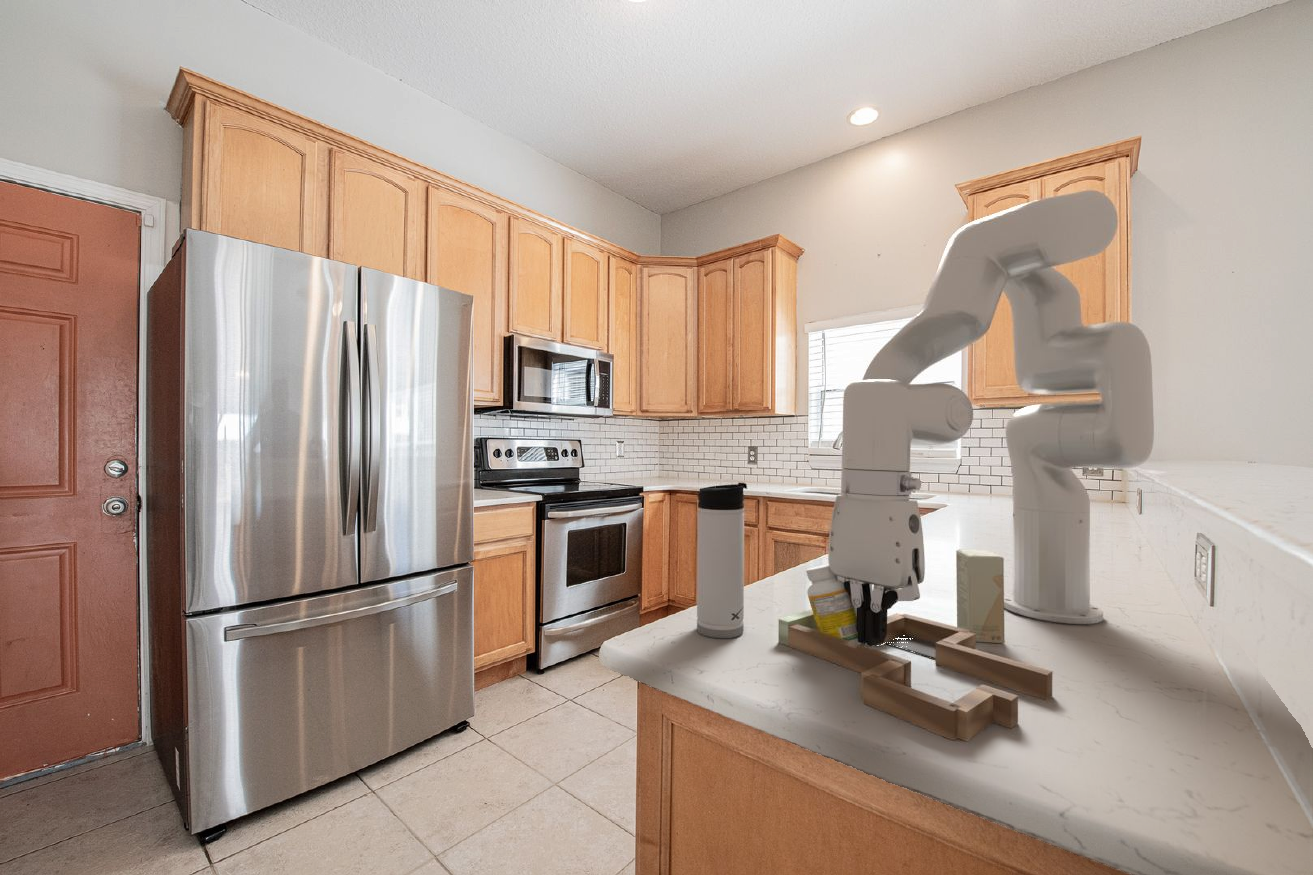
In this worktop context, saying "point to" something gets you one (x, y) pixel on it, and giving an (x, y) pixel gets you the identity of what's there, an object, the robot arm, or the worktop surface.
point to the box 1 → (949, 648)
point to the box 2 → (980, 594)
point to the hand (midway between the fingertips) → (871, 641)
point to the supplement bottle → (831, 604)
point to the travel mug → (720, 561)
